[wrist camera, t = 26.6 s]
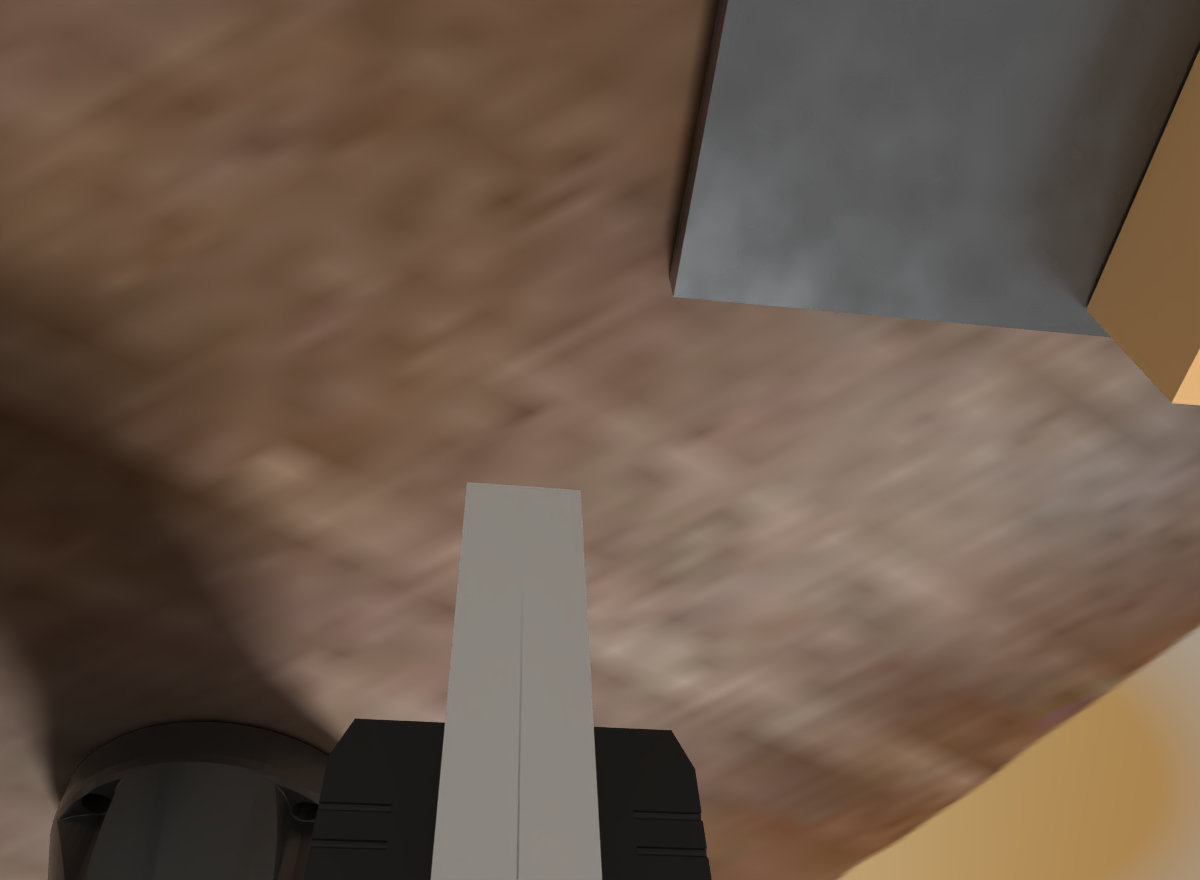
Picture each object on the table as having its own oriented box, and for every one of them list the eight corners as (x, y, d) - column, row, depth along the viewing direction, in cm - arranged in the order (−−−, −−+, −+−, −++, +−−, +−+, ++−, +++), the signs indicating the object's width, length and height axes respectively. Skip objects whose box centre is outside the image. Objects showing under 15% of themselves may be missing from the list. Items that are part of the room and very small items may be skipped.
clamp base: (1317, 338, 40) (1461, 453, 33) (668, 277, 37) (695, 390, 31) (1597, -139, 31) (1864, -102, 24) (766, -268, 28) (832, -263, 22)
